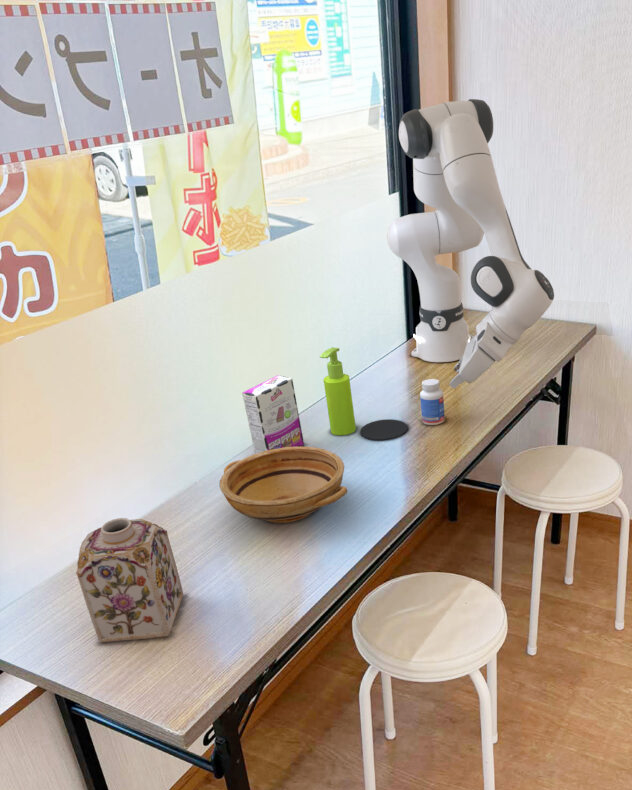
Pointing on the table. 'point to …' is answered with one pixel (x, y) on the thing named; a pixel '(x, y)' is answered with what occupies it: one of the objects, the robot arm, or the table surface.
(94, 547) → the decorative jar
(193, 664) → the table surface
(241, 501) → the ceramic bowl
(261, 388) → the candy bar box
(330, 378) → the lime green pump bottle
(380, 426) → the coaster
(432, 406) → the pill bottle
